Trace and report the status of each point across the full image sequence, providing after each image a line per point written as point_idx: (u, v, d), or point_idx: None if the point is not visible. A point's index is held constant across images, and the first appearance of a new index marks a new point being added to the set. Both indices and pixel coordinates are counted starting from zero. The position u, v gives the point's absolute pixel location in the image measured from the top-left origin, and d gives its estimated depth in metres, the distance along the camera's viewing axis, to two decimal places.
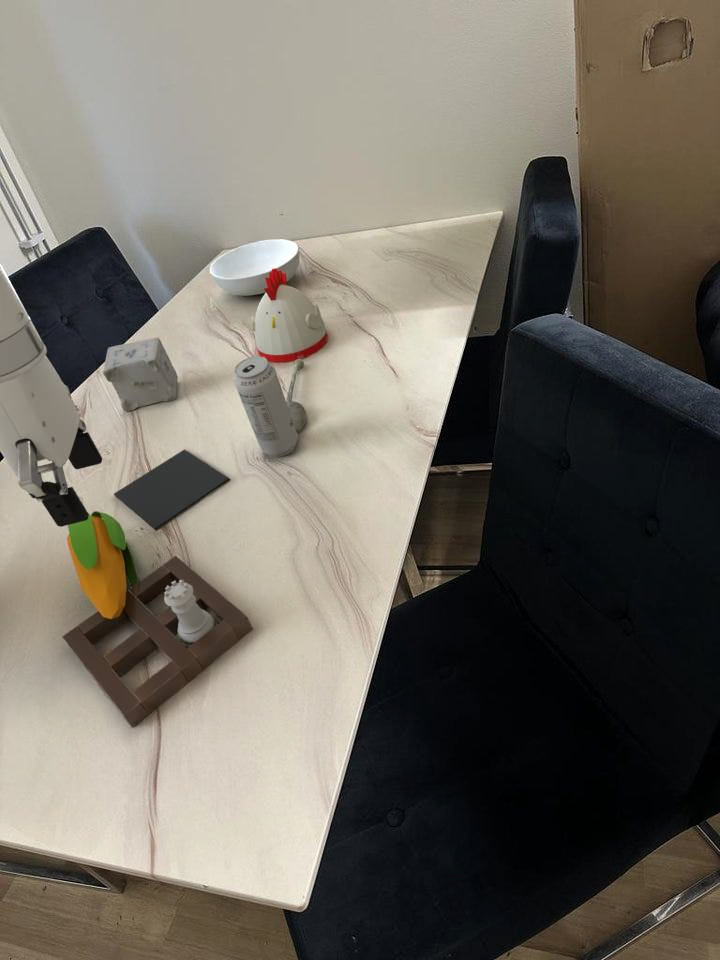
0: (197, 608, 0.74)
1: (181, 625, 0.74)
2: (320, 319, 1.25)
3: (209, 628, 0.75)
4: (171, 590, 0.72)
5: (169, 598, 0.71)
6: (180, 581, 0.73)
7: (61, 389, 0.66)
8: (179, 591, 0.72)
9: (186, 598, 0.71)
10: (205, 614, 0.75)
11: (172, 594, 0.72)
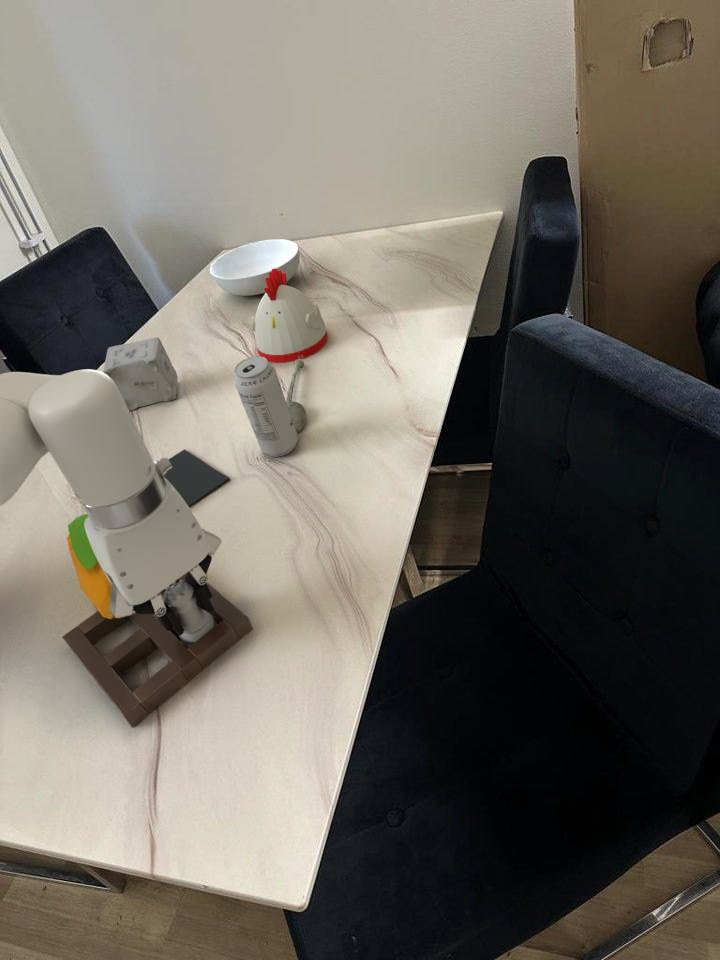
0: (197, 608, 0.74)
1: None
2: (320, 319, 1.25)
3: (209, 628, 0.75)
4: (171, 590, 0.72)
5: (169, 599, 0.71)
6: (180, 581, 0.73)
7: (183, 536, 0.67)
8: (179, 591, 0.72)
9: (186, 598, 0.71)
10: (205, 614, 0.75)
11: (172, 594, 0.72)
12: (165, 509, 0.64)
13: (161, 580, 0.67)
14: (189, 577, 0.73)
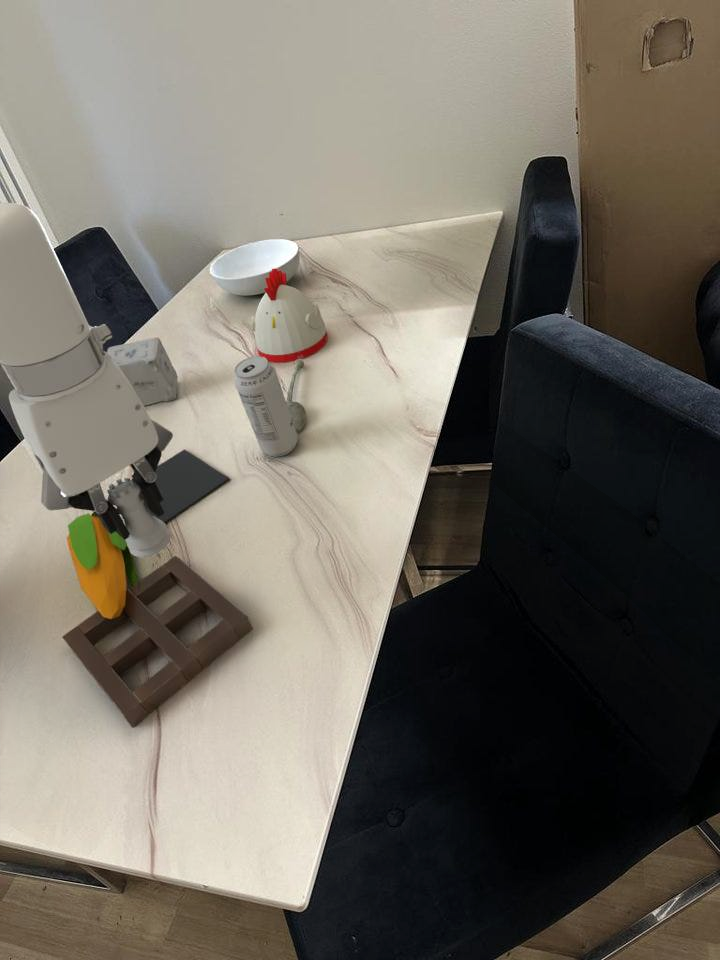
0: (146, 511, 0.66)
1: (128, 530, 0.66)
2: (320, 319, 1.25)
3: (160, 535, 0.67)
4: (115, 488, 0.64)
5: (112, 496, 0.63)
6: (126, 479, 0.65)
7: (125, 418, 0.59)
8: (123, 489, 0.64)
9: (132, 496, 0.64)
10: (156, 520, 0.68)
11: (116, 492, 0.64)
12: (102, 382, 0.56)
13: (100, 468, 0.59)
14: (136, 475, 0.65)
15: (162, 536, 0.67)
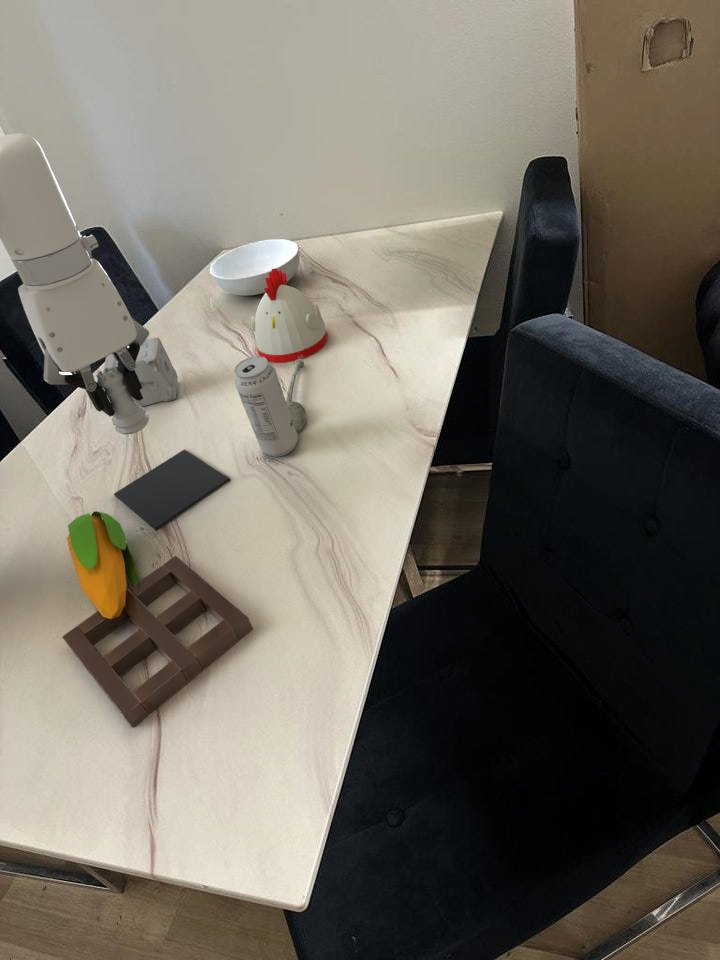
0: (128, 395, 0.82)
1: None
2: (320, 319, 1.25)
3: (139, 416, 0.83)
4: (103, 374, 0.81)
5: (100, 379, 0.80)
6: (111, 367, 0.81)
7: (109, 311, 0.75)
8: (109, 374, 0.80)
9: (116, 379, 0.80)
10: (136, 404, 0.84)
11: (103, 376, 0.80)
12: (90, 279, 0.73)
13: (89, 351, 0.76)
14: (119, 364, 0.81)
15: (141, 417, 0.83)
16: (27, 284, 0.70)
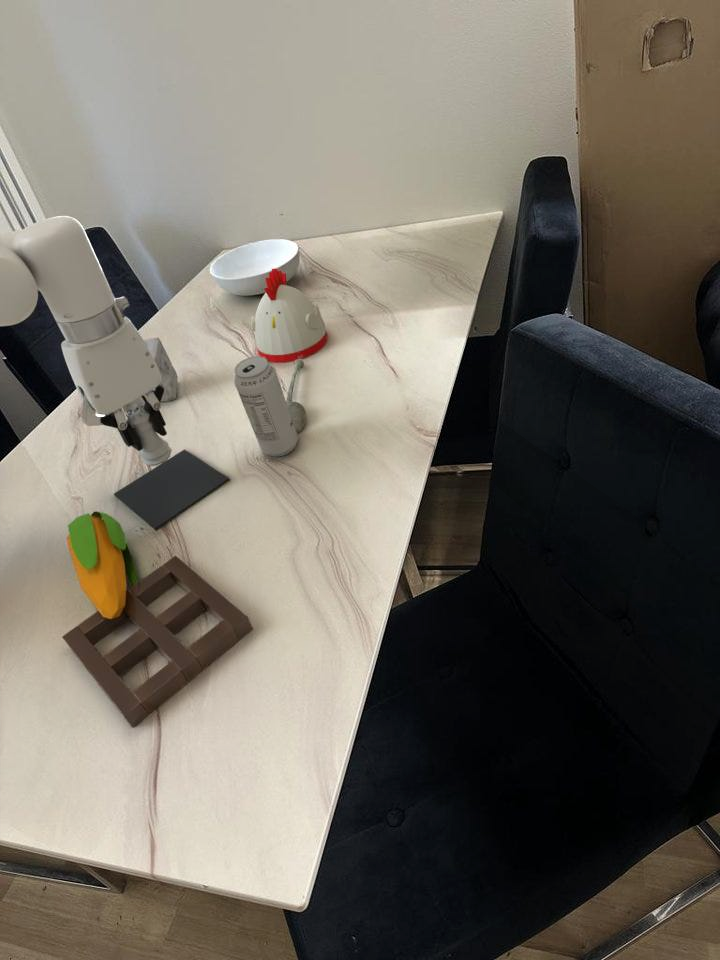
0: (153, 431, 0.93)
1: None
2: (320, 319, 1.25)
3: (164, 449, 0.94)
4: (132, 414, 0.92)
5: (130, 419, 0.91)
6: (139, 408, 0.92)
7: (138, 361, 0.86)
8: (138, 414, 0.91)
9: (144, 418, 0.91)
10: (161, 439, 0.95)
11: (132, 416, 0.91)
12: (123, 335, 0.84)
13: (122, 396, 0.87)
14: (146, 405, 0.92)
15: (165, 450, 0.95)
16: (70, 342, 0.81)
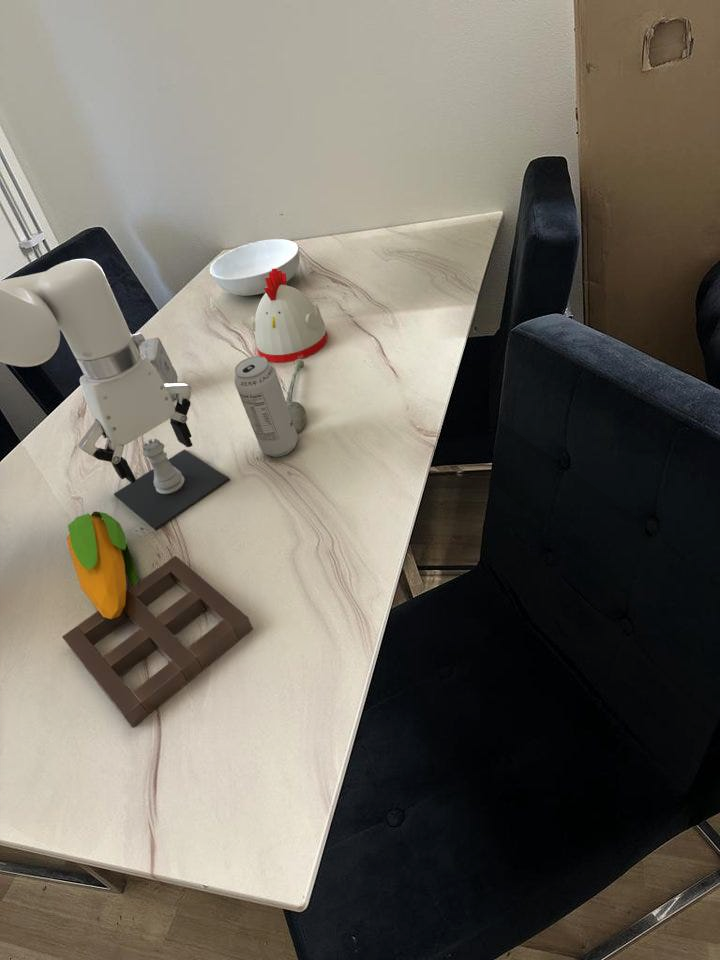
0: (168, 462, 0.97)
1: (156, 475, 0.97)
2: (320, 319, 1.25)
3: (177, 479, 0.98)
4: (147, 445, 0.95)
5: (146, 450, 0.94)
6: (154, 439, 0.95)
7: (153, 394, 0.90)
8: (153, 445, 0.95)
9: (159, 450, 0.94)
10: (174, 468, 0.98)
11: (148, 448, 0.94)
12: (139, 370, 0.87)
13: (137, 428, 0.90)
14: None
15: (179, 479, 0.98)
16: (88, 377, 0.84)
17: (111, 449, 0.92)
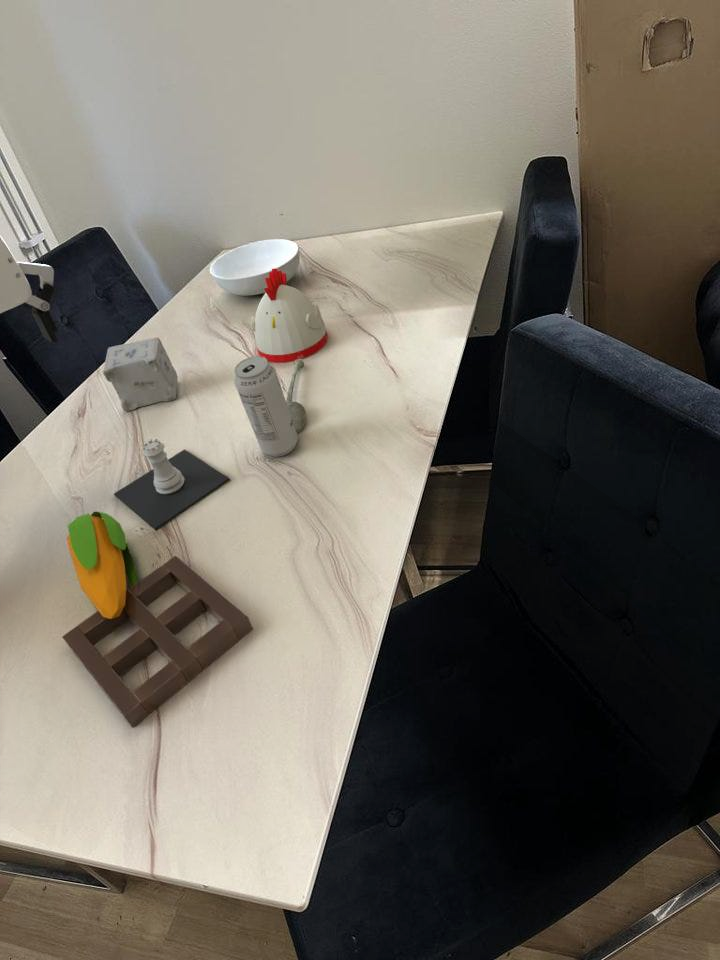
0: (168, 462, 0.97)
1: (156, 475, 0.97)
2: (320, 319, 1.25)
3: (177, 479, 0.98)
4: (147, 445, 0.95)
5: (146, 450, 0.94)
6: (154, 439, 0.95)
7: None
8: (153, 446, 0.95)
9: (159, 450, 0.94)
10: (174, 469, 0.98)
11: (148, 448, 0.94)
12: None
13: None
14: (33, 305, 0.82)
15: (179, 479, 0.98)
16: None
17: None
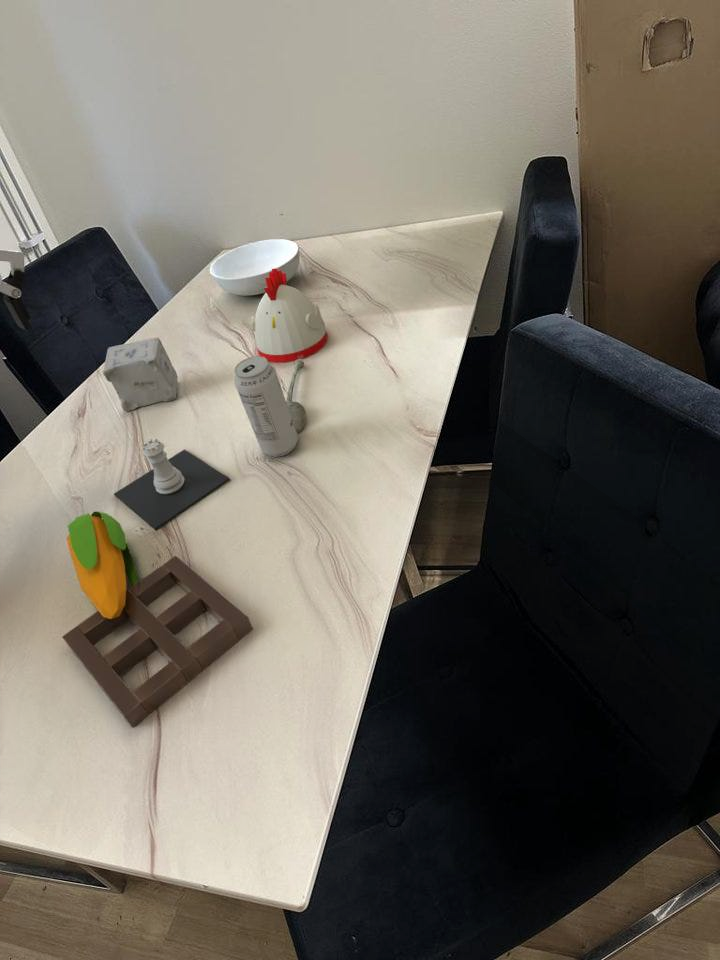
0: (168, 462, 0.97)
1: (156, 475, 0.97)
2: (320, 319, 1.25)
3: (177, 479, 0.98)
4: (147, 445, 0.95)
5: (146, 450, 0.94)
6: (154, 439, 0.95)
7: None
8: (153, 446, 0.95)
9: (159, 450, 0.94)
10: (174, 469, 0.98)
11: (148, 448, 0.94)
12: None
13: None
14: None
15: (179, 479, 0.98)
16: None
17: None
